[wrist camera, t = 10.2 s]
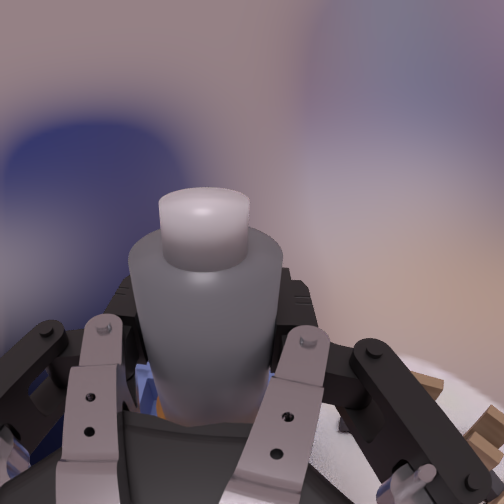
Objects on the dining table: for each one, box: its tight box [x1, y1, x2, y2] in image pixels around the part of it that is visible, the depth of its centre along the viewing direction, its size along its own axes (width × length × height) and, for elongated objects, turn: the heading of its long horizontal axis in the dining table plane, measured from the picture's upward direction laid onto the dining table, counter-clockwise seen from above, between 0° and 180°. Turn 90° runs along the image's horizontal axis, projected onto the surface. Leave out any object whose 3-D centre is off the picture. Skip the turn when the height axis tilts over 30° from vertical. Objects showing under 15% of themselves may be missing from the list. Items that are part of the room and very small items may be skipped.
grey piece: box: [128, 187, 283, 427], centre depth 11 cm, size 5×5×11 cm
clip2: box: [463, 405, 504, 472], centre depth 13 cm, size 4×3×4 cm
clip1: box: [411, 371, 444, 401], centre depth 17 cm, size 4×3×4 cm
